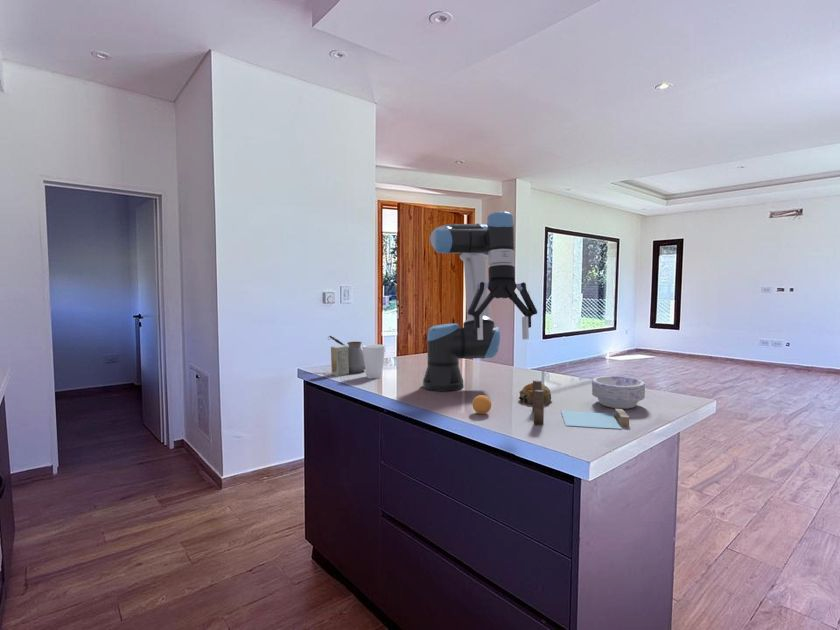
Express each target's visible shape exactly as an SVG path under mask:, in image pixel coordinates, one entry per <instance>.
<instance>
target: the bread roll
mask: <svg viewBox="0 0 840 630" xmlns="http://www.w3.org/2000/svg"><path fill="white" fill-rule="evenodd" d="M542 391H544V405H549V404H552V403H553V400H552V393H551V390H550V388H549V387H548V386H546V385H545V384H543V383H542ZM518 398H519V400H520V401H521V402H522V403H525V404H529V405H533V382H531V383H528V384H526V385H524V387H523V388H522V389H521V390H520V391H519V397H518Z"/></svg>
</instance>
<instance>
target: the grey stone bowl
mask: <svg viewBox="0 0 840 630" xmlns="http://www.w3.org/2000/svg"><path fill="white" fill-rule="evenodd" d="M645 389H646V383H645V382H644V381H643V380H642V379H637V378H634V377H626V376H620V375H619V376H617V375H606V376H604V375H602V376H598V377H593V379H592V380H591V394H592V396H594V397H596V398H597V399H598V401H599V403H600V404H601V405H602V406H604V407H607V408H610V409H623V410H624V409H626V410H627V409H628V410H629V409H633V408H635V407H636V406H637V404H638V402H640V401H643V400H644V399H645V395H646V390H645Z"/></svg>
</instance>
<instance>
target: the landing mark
mask: <svg viewBox="0 0 840 630" xmlns="http://www.w3.org/2000/svg"><path fill="white" fill-rule="evenodd" d="M560 412H561V416H562V419H563V421H564V425H565V427H573V428H574V427H575V428H576V427H577V428H594V429H610V430H622V426H621V425H620V424H619V422H618V421H617V420H616V418H615V416H613V414H612V413H607V412H591V411H590V412H589V411H588V412H587V411H574V410H573V411H572V410H570V411H569V410H568V411H567V410H561V411H560Z"/></svg>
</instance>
